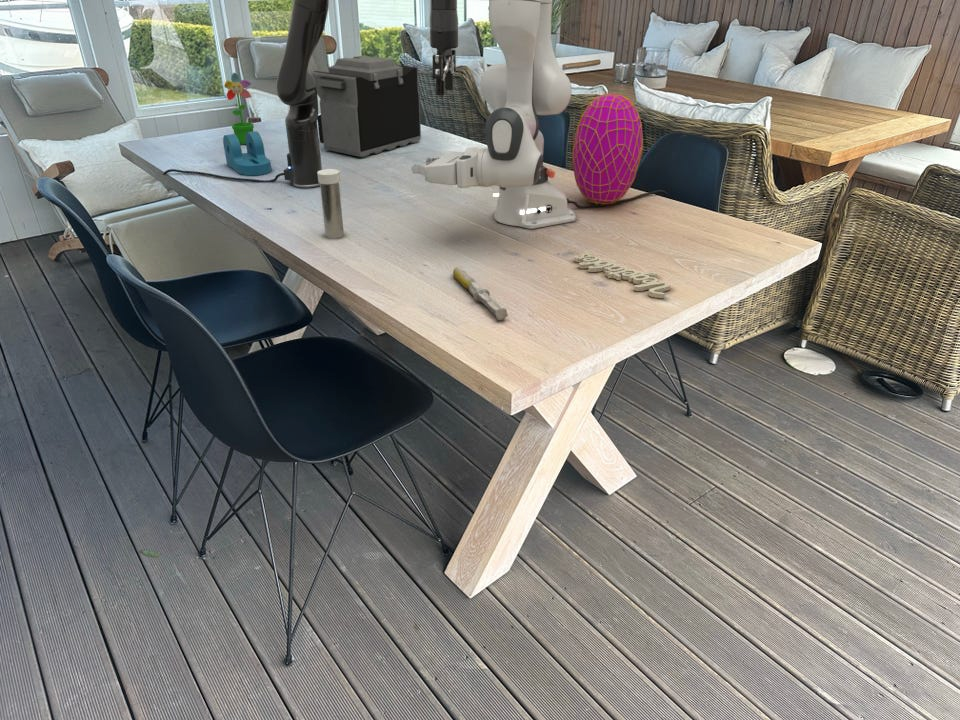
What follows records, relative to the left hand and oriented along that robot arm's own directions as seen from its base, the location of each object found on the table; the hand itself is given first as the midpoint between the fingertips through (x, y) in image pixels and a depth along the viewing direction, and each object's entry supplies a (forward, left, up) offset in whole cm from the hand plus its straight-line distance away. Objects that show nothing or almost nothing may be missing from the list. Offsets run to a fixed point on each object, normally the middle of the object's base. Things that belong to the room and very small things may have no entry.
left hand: (444, 92), depth 191 cm
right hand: (+4, -35, -11) cm, 37 cm away
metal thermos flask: (-18, -40, -29) cm, 53 cm away
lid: (-18, -40, -13) cm, 46 cm away
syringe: (+27, -66, -29) cm, 77 cm away
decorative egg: (+46, +6, -29) cm, 55 cm away
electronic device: (-45, +52, -29) cm, 74 cm away
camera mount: (-71, +11, -29) cm, 78 cm away
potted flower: (-92, +43, -29) cm, 106 cm away
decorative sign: (+56, -46, -29) cm, 78 cm away
